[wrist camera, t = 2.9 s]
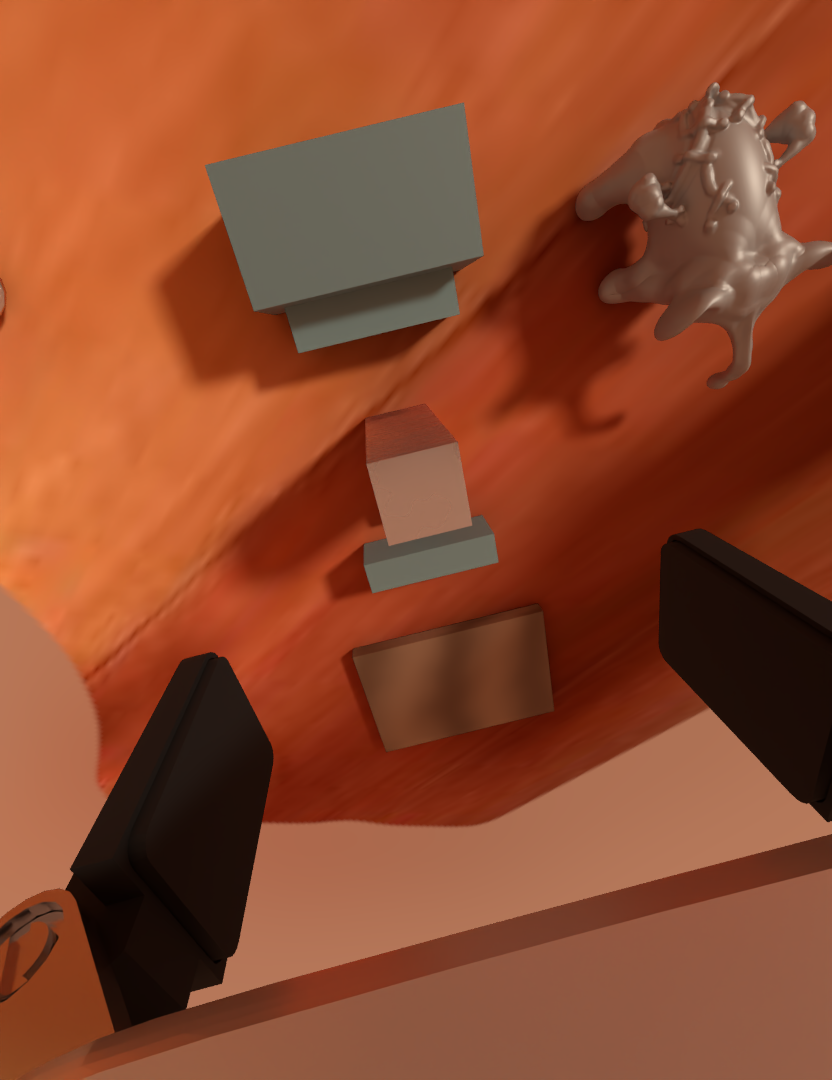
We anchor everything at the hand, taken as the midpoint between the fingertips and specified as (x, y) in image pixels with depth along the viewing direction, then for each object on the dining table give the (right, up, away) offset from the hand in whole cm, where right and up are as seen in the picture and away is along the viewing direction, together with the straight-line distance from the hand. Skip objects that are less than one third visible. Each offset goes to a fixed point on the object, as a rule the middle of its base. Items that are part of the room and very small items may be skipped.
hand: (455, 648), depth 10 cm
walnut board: (+2, -8, +26) cm, 27 cm away
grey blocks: (-2, +10, +16) cm, 20 cm away
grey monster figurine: (+13, +17, +15) cm, 26 cm away
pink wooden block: (-1, +7, +18) cm, 19 cm away
